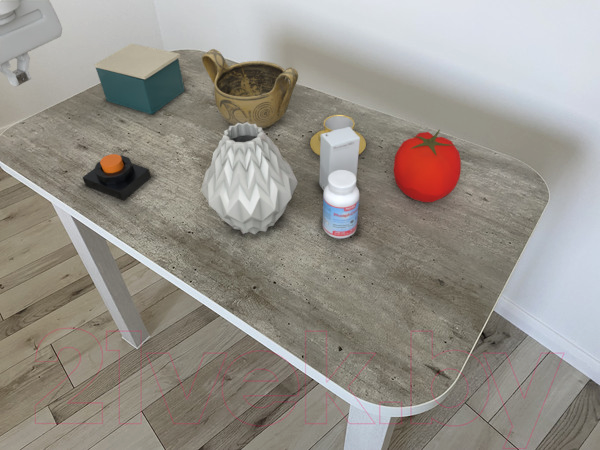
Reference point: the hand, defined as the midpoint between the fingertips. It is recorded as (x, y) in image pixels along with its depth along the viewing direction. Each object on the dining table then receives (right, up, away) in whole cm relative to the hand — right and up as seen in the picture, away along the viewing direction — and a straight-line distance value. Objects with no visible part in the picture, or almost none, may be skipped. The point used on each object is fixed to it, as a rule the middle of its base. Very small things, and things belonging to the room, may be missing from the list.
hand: (21, 82), depth 81 cm
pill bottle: (+54, -25, +5) cm, 60 cm away
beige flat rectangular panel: (+8, +15, +34) cm, 38 cm away
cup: (+55, -7, +23) cm, 60 cm away
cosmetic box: (+54, -17, +13) cm, 58 cm away
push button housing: (+11, -15, +16) cm, 24 cm away
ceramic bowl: (+37, 0, +30) cm, 48 cm away
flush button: (+11, -13, +13) cm, 21 cm away
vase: (+39, -23, +7) cm, 45 cm away
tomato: (+70, -18, +11) cm, 74 cm away
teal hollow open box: (+8, +8, +40) cm, 42 cm away
